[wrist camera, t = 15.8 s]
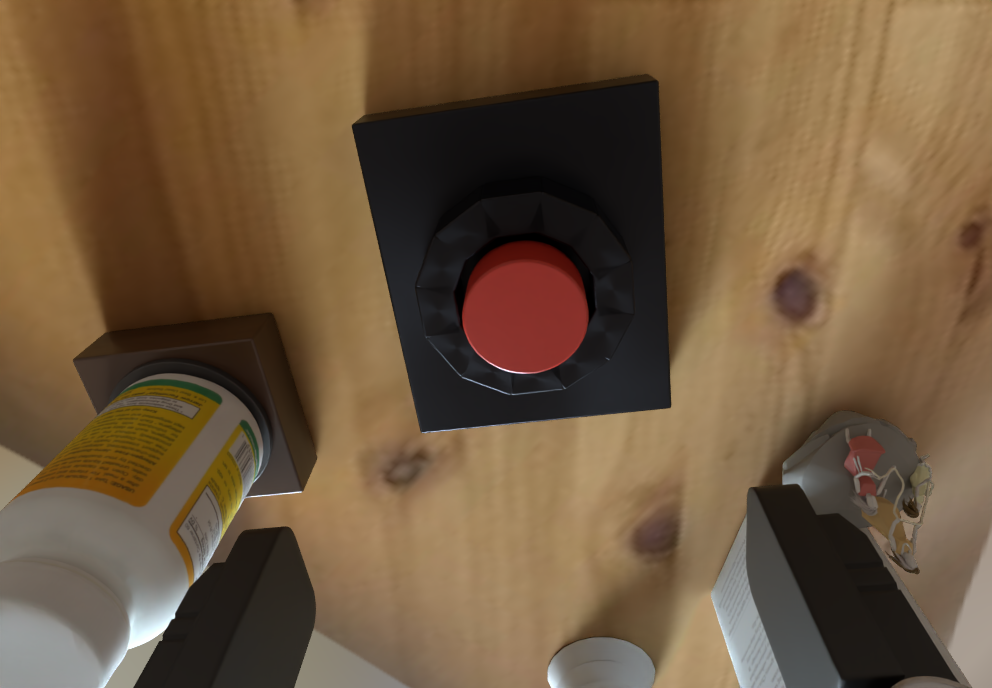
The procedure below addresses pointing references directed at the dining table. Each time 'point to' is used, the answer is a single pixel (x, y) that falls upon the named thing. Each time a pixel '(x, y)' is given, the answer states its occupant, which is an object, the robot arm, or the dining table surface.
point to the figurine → (864, 477)
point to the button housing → (525, 216)
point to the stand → (216, 382)
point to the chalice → (601, 665)
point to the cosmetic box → (746, 628)
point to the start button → (525, 307)
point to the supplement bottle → (120, 529)
